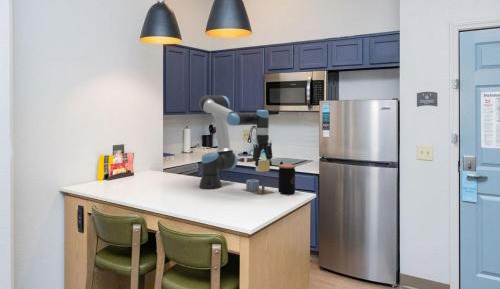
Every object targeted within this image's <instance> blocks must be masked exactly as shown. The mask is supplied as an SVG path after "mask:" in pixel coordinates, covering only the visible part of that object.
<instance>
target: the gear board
mask: <svg viewBox="0 0 500 289" xmlns="http://www.w3.org/2000/svg"><path fill="white" fill-rule="evenodd" d="M241 191H244V192H248V193H252V194H256V195H260V196H264V195H269V194H274V193H275V191H273V190H268V189H265V185H264V184H262V185H261V188H260V187H259V190H258V191H257V190H256V191H249V190H246V188H244V189H243V188H242V189H241Z"/></svg>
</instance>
